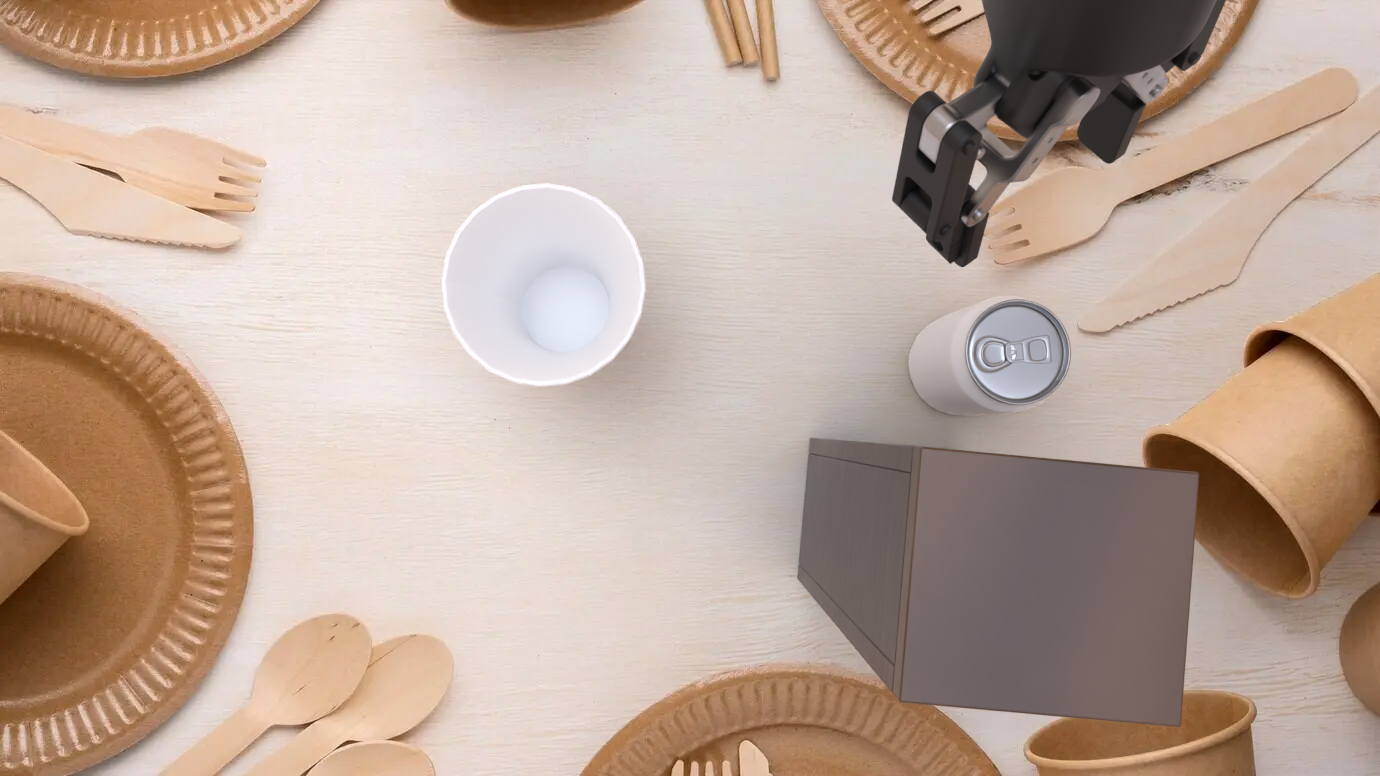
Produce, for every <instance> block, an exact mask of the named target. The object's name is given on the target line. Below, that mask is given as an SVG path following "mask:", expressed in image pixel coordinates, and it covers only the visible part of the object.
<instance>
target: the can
mask: <svg viewBox="0 0 1380 776" xmlns="http://www.w3.org/2000/svg"><path fill="white" fill-rule="evenodd" d="M1071 357H1072V347H1071V341H1070V337H1069V335H1068V332H1067V329H1066V327H1065V325H1064V324H1063V322H1062V321H1061V319H1060V318H1059V317H1058V316H1057V315H1056V314H1055V313H1054V312H1053V311H1052V310H1050V309H1049V308H1048V307H1046V306H1045V305H1043V304H1041V303H1038V302H1036V301H1034V300H1032V299H1029V298H1026V297H1023V296H1017V295H997V296H992V297H989V298H986V299H983V300H980V301H978V302H975V303H973V304H970V305H967V306H965V307H962V308H960V309H957V310H955V311H952V312H950V313H948V314H945V315H943V316H941V317H939V318H937V319H934V320H933V321H931V322H930V323H929V324H927V325H926V326H924V327H923V329H921V331H920V332H919V333H918V334H917V336H916V338H915V339H914V341H913V343H912V345H911V348H910V350H909V354H908V373H909V377H910V380H911V383H912V385H913V388H914V390H915V391H916V393H917V395H918V396H919V397H920V398H921V400H923V401H924V403H926V404H927V405H928V406H930V407H931V408H933V409H935V410H937V411H938V412H941V413H944V414H947V415H951V416H952V415H953V416H985V415H986V416H989V415H1008V414H1016V413H1017V414H1018V413H1022V412H1026V411H1029V410H1031V409H1033V408H1036V407H1038V406H1040V405H1042V404H1043V403H1044V402H1046V401H1047V400H1048V399H1049V398H1050V397H1051V396H1052V395H1053V394H1054V393H1055V392H1056V390H1057V389H1058V388H1059V387H1060V386H1061V384H1062V383H1063V381H1064V380H1065V378H1066V376H1067V374H1068V372H1069V369H1070V364H1071V360H1072V359H1071Z"/></svg>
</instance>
